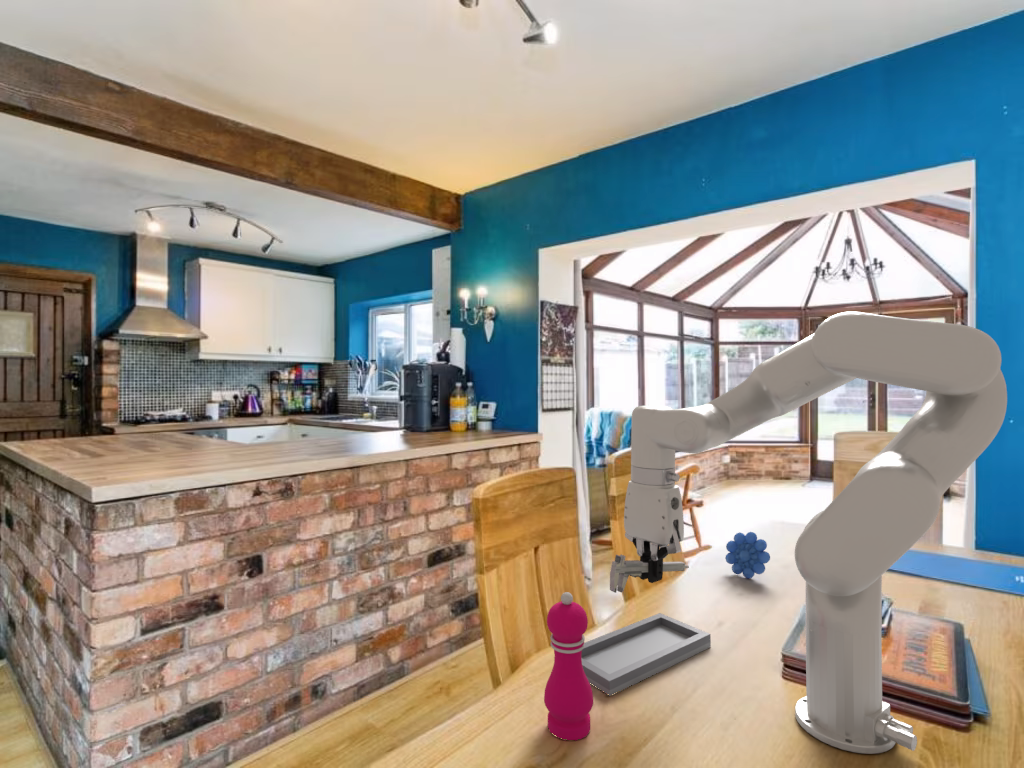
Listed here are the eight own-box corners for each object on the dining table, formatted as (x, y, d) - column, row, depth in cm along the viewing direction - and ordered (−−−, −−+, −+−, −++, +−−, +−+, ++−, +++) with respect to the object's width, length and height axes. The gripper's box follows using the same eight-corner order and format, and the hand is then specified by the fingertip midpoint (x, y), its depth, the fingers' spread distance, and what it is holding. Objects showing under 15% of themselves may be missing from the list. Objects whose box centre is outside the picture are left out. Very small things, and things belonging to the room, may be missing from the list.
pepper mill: (589, 712, 85) (587, 582, 85) (598, 742, 78) (595, 601, 78) (542, 713, 85) (540, 584, 85) (547, 744, 78) (544, 603, 78)
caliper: (614, 595, 92) (614, 557, 91) (609, 593, 92) (610, 555, 92) (689, 569, 104) (689, 535, 104) (684, 567, 105) (684, 534, 104)
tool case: (710, 647, 105) (710, 634, 105) (609, 696, 89) (609, 681, 89) (660, 624, 115) (659, 612, 115) (561, 666, 99) (560, 652, 99)
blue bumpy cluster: (778, 580, 139) (777, 532, 139) (765, 586, 135) (764, 537, 134) (734, 568, 148) (734, 523, 148) (721, 574, 144) (720, 528, 144)
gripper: (703, 480, 94) (701, 588, 94) (633, 467, 106) (631, 562, 106) (675, 486, 89) (674, 599, 90) (605, 471, 101) (604, 571, 102)
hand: (651, 578), depth 98 cm, fingers closed on caliper, 1 cm apart
